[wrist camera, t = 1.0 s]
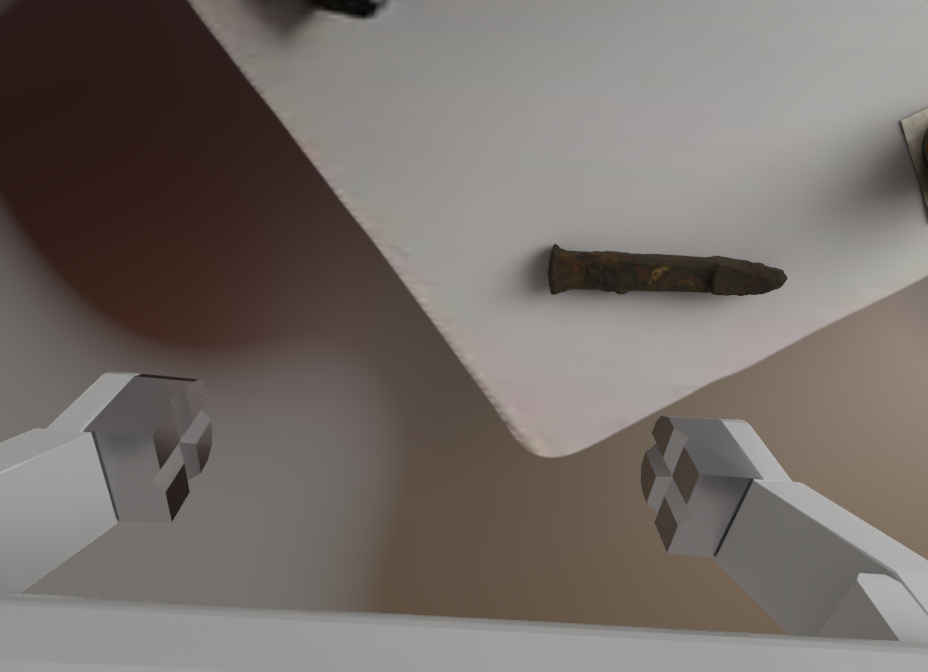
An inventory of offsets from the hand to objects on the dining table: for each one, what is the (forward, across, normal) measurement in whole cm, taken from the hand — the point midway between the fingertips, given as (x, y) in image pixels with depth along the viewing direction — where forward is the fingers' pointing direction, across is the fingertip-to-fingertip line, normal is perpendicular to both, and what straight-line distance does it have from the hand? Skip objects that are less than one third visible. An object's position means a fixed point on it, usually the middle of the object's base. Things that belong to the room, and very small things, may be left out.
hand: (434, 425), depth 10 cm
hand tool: (+37, -19, +9) cm, 42 cm away
